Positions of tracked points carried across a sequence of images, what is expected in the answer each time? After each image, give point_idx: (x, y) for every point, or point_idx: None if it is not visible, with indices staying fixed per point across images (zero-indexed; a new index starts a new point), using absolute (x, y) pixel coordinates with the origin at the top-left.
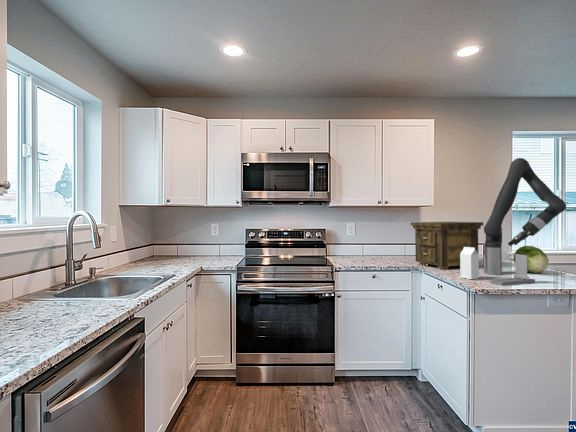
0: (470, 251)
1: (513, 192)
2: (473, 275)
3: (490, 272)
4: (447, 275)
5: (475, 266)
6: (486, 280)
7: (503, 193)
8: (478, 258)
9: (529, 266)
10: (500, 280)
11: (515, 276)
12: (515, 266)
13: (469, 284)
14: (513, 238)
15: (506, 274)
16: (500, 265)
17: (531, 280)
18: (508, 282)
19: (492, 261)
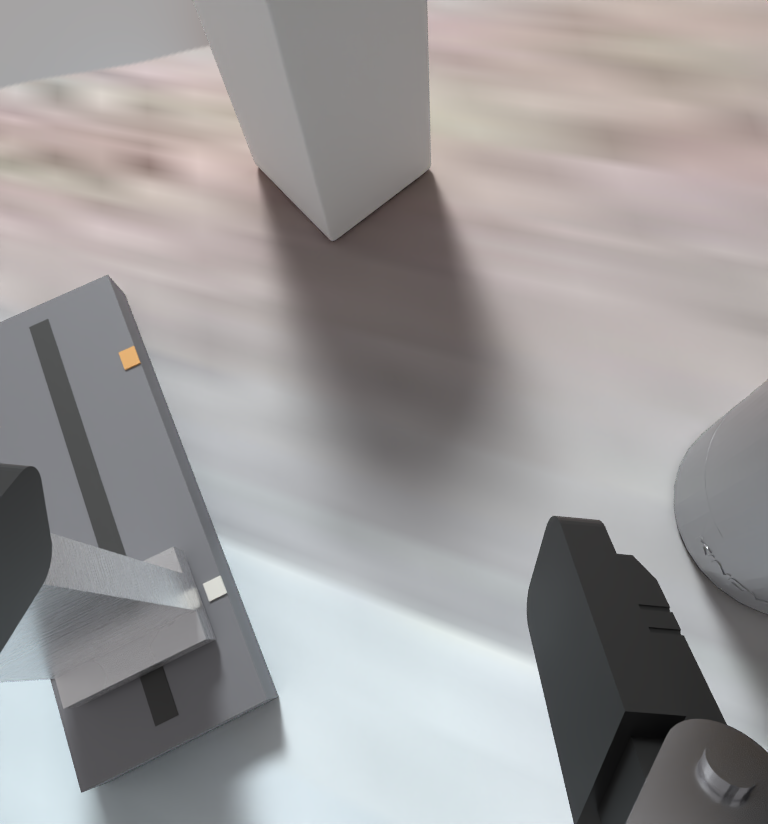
0: None
1: None
2: (264, 155)
3: (698, 441)
4: (502, 17)
5: (263, 102)
6: (253, 294)
7: None
8: (278, 54)
9: None
10: (35, 350)
11: (154, 560)
12: (128, 557)
13: (50, 114)
14: (712, 779)
15: (760, 676)
16: (765, 561)
17: (68, 728)
18: None
19: (756, 410)
